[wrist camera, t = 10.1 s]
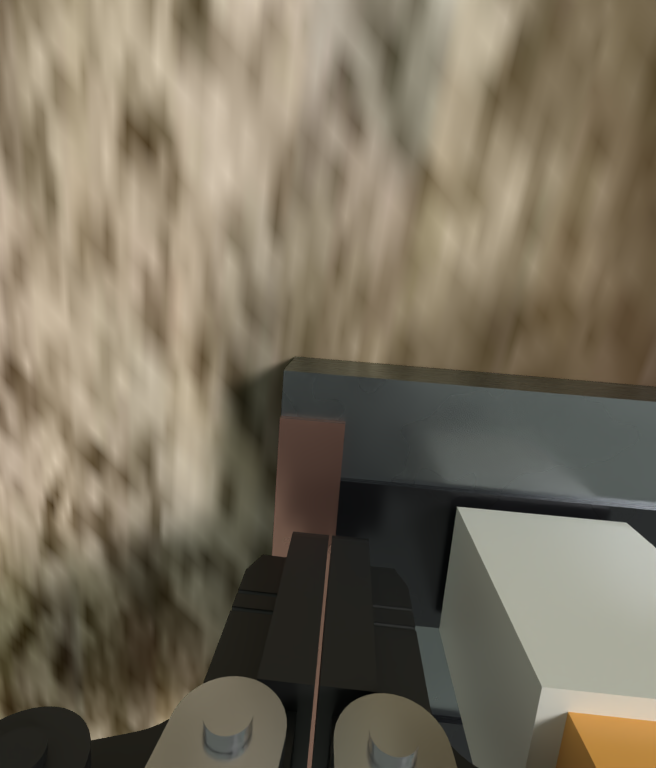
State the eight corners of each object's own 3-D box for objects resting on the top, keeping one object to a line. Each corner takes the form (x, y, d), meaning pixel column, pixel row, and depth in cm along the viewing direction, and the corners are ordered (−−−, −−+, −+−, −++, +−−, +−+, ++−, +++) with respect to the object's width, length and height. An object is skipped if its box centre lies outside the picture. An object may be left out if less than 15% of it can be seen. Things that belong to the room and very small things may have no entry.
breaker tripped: (457, 506, 10) (574, 755, 5) (626, 522, 10) (943, 796, 4) (439, 629, 10) (524, 970, 5) (598, 646, 10) (847, 1012, 5)
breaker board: (295, 356, 12) (282, 372, 10) (1037, 418, 11) (1200, 449, 9) (259, 928, 16) (245, 1028, 14) (798, 998, 15) (871, 1114, 13)
